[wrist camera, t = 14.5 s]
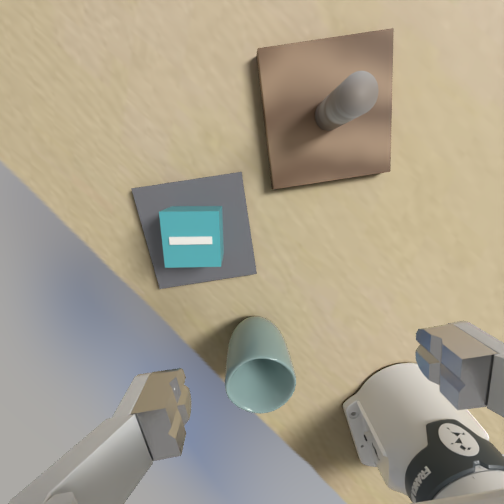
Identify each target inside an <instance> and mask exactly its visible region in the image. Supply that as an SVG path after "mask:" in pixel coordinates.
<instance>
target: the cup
mask: <svg viewBox="0 0 504 504" xmlns="http://www.w3.org/2000/svg"><path fill="white" fill-rule="evenodd" d="M295 386H296V375H295V371H294V367H293V364H292V361H291V357H290V354H289V351H288V348H287V345H286V342H285V339H284V337H283V335H282V333H281V332H280V330H279V329H278V327H277V326H276V325H275V324H274V323H273V322H271V321H270V320H268V319H266V318H263V317H259V316H252V317H248V318H246V319H244V320H243V321H241V322H240V323H239V324H238V325H237V326H236V328H235V329H234V331H233V333H232V335H231V338H230V341H229V345H228V351H227V359H226V372H225V388H226V393H227V396H228V398H229V399H230V400H231V401H232V402H233V403H234V404H235V405H236V406H237V407H239V408H241V409H243V410H245V411H248V412H252V413H268V412H271V411H274V410H276V409H278V408H280V407H281V406H282V405H284V404H285V403H286V402H287V401H288V400H289V398H290V397H291V396H292V394H293V392H294V390H295Z"/></svg>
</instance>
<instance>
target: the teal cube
mask: <svg viewBox="0 0 504 504" xmlns="http://www.w3.org/2000/svg"><path fill="white" fill-rule="evenodd" d="M159 217H160V227H161V236H162V245H163V254H164V263H165V268H177V267H221V264H222V259H223V254H224V246H223V217H222V206H171V207H169V208H167V209H164V210H162V211H159Z"/></svg>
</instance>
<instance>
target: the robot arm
mask: <svg viewBox="0 0 504 504" xmlns="http://www.w3.org/2000/svg"><path fill="white" fill-rule="evenodd" d="M416 340H417V341H418V342H419V344H420V345H419V347H418V348H417V350H416V361H417V364H416V363H401V364H396V365H392V366H389V367H387V368H384V369H382V370H380V371H379V372H377V373H375V374H374V375H373V376H371V377H370V378H369V379H368V380H367V381H366V382H365V383H364V384H363V386H362V387H361V389H360V390H359V391H358V392H357V393H356V394H355V395H353V396H352V397H350V398H349V399H348V400H346V401H345V402H344V404H343V409H344V412H345V415H346V419H347V422H348V425H349V428H350V431H351V434H352V438H353V441H354V444H355V447H356V450H357V454H358V457H359V459H360V461H361V462H362V464H364V465H367V466H373V467H378V470H379V472H380V474H381V476H382V478H383V479H384V481H385V483H386V485H387V486H388V487H389V488H390V489H392V490H394V491H397V492H399V493H402V494H405V495H407V496H408V497H409V498H410V499H411V501H412V502H413V503H411V504H504V455H503V454H501V453H500V452H499V451H498V450H497V449H496V448H495V446H494V445H493V444H492V443H490V442H489V436H488V434H487V432H486V431H485V430H484V429H483V427H482V426H481V425H480V424H479V423H478V422H477V420H476V419H475V418H474V417H473V416H472V414H471V413H470V412H469V411H468V410H467V409H471V408H479V407H486V406H487V408H488V409H490V410H492V411H493V412H495V413H497V414H499V415H501V416H502V417H504V343H503V342H501V341H500V340H498V339H496V338H495V337H493V336H491V335H490V334H488V333H486V332H485V331H483V330H481V329H480V328H478V327H476V326H475V325H473V324H471V323H470V322H466V321H459V322H454V323H449V324H446V325H440V326H434V327H428V328H422V329H418V331H417V333H416ZM185 378H186V377H185V374H184V371H183V369H181V368H179V369H172V370H165V371H158V372H152V373H145V374H139V375H137V376H136V377H134V379H133V381H132V383H131V385H130V386H129V388H128V390H127V392H126V394H125V395H124V397H123V399H122V400H121V402H120V404H119V406H118V408H117V410H116V411H115V413H114V415H113V417H112V418H109V419H106V420H105V421H104V422H102V423H101V424H100V425H99V426H98V427H96V428H95V429H94V430H93V431H92V432H91V433H89V434H88V435H87V436H86V437H85V438H83V439H82V440H81V441H80V442H79V443H78V444H76V445H75V446H74V447H73V448H72V449H70V450H69V451H68V452H67V453H66V454H65V455H63V456H62V457H61V458H60V459H59V460H57V461H56V462H55V463H54V464H53V465H52V466H50V467H49V468H48V469H47V470H46V471H44V472H43V473H42V474H41V475H40V476H38V477H37V478H36V479H35V480H34V481H33V482H32V483H30V484H29V485H28V486H27V487H25V488H24V489H23V490H22V491H21V492H20V493H18V494H17V495H16V496H15V497H14V498H12V499H11V501H10V502H9V503H8V504H124V503H125V501H126V500H127V499H128V497H129V496H130V495H131V493H132V492H133V490H134V489H135V487H136V486H137V485H138V483H139V482H140V480H141V479H142V478H143V476H144V475H145V473H146V472H147V470H148V469H149V468H150V467H151V465H152V464H153V462H152V461H156V460H161V459H166V458H171V457H177V456H181V454H182V449H183V445H184V441H185V435H186V431H185V428H184V425H185V424H186V423H187V422H188V420H189V418H190V413H191V396H190V391H189V388H188V387H187V386H185V385H184V382H185Z"/></svg>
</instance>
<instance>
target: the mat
mask: <svg viewBox="0 0 504 504" xmlns="http://www.w3.org/2000/svg"><path fill="white" fill-rule="evenodd" d="M132 193H133V196H134V200H135V203H136V207H137V210H138V214H139V217H140V221H141V224H142V228H143V231H144V235H145V238H146V242H147V245H148V249H149V252H150V256H151V260H152V263H153V267H154V270H155V274H156V277H157V281H158V284H159V288H160V289H162V288H169V287H175V286H181V285H188V284H194V283H201V282H207V281H213V280H220V279H226V278H233V277H239V276H246V275H252V274H257V272H256V266H255V259H254V252H253V246H252V239H251V232H250V226H249V219H248V213H247V206H246V199H245V193H244V186H243V179H242V173H241V172H237V173H231V174H224V175H218V176H211V177H205V178H198V179H191V180H185V181H178V182H172V183H165V184H159V185H152V186H146V187H139V188H132ZM171 206H222V217H223V246H224V254H223V259H222V264H221V267H177V268H165V263H164V254H163V245H162V236H161V227H160V217H159V211H162V210H164V209H167V208H169V207H171Z"/></svg>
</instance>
